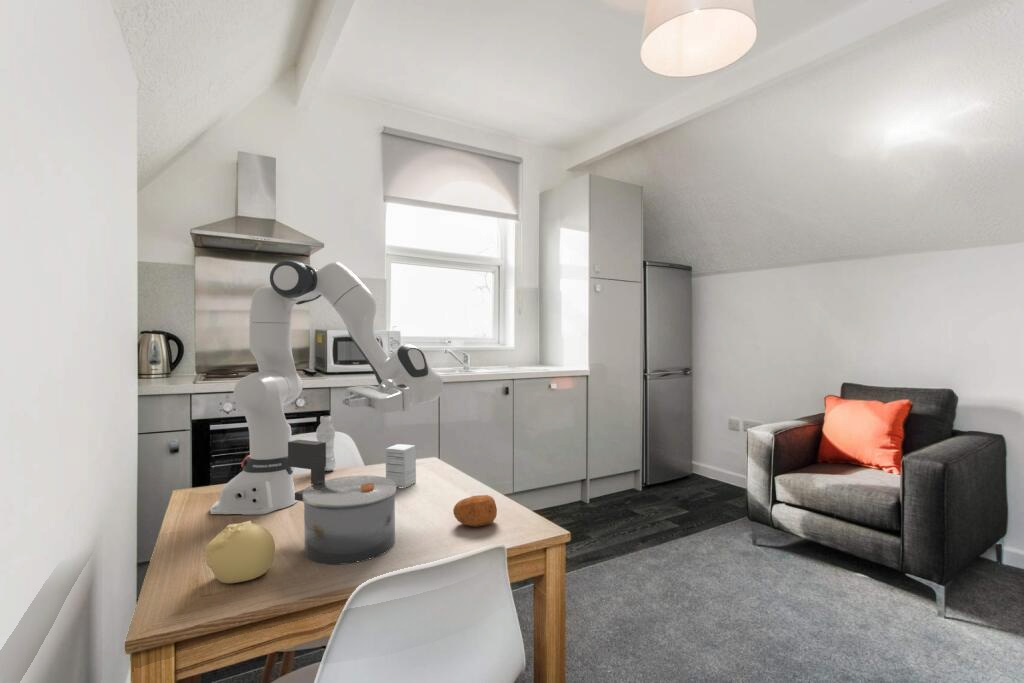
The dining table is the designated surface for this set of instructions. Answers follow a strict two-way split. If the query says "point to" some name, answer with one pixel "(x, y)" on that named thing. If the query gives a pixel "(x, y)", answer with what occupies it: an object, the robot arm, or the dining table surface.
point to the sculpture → (240, 552)
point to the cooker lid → (335, 480)
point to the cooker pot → (348, 531)
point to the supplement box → (401, 464)
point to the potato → (476, 510)
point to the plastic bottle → (327, 440)
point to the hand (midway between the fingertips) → (345, 402)
